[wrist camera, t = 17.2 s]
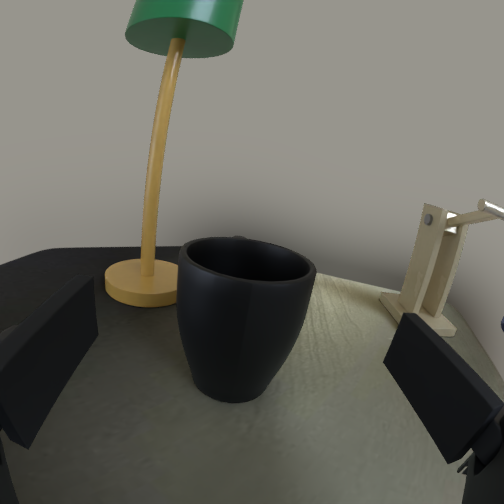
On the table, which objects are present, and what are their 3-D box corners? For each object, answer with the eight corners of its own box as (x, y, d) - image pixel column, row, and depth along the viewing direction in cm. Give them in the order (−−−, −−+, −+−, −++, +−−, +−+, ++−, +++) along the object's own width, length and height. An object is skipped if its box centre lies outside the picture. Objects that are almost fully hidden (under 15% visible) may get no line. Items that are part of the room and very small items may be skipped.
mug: (272, 327, 28) (291, 233, 25) (292, 420, 16) (335, 291, 14) (188, 318, 27) (197, 220, 24) (164, 409, 16) (164, 270, 13)
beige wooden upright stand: (453, 336, 29) (491, 225, 25) (407, 335, 29) (446, 209, 25) (421, 304, 39) (448, 210, 35) (378, 299, 39) (405, 197, 34)
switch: (517, 229, 20) (517, 206, 20) (485, 216, 20) (484, 191, 20) (453, 238, 32) (454, 221, 32) (420, 230, 32) (421, 211, 32)
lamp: (207, 312, 29) (261, -25, 19) (89, 310, 24) (146, -44, 14) (189, 268, 39) (228, 16, 29) (103, 265, 35) (142, 4, 25)
